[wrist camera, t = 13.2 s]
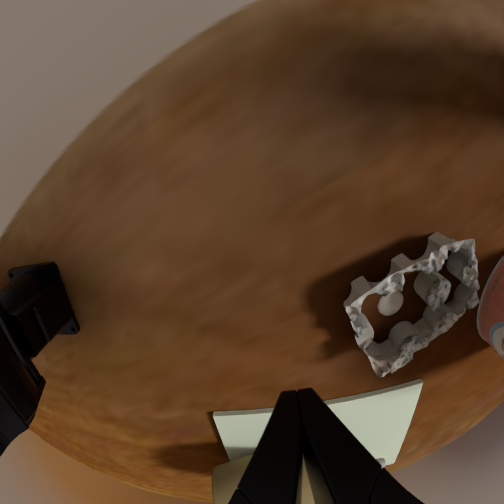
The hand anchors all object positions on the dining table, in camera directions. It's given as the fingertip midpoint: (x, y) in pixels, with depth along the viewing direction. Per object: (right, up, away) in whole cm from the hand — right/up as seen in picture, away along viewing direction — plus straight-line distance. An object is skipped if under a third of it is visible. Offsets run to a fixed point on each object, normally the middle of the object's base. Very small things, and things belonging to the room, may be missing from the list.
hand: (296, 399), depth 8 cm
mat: (+6, -17, +20) cm, 27 cm away
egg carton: (+11, +1, +14) cm, 17 cm away
